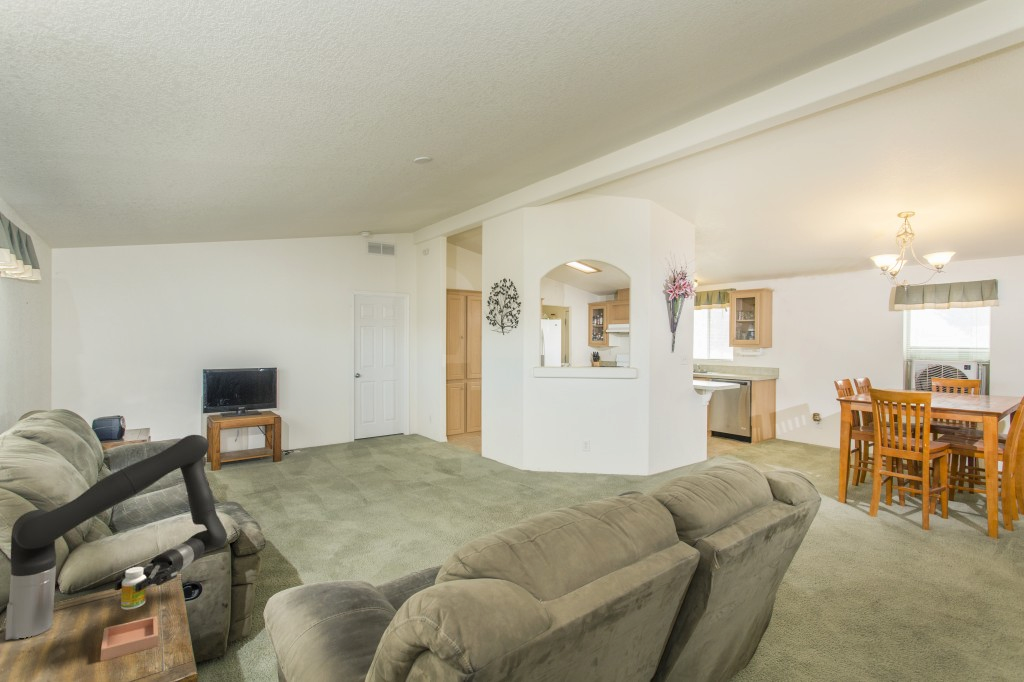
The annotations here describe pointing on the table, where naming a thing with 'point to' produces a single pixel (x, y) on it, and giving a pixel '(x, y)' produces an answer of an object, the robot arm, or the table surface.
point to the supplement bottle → (132, 589)
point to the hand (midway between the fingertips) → (126, 587)
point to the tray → (129, 638)
